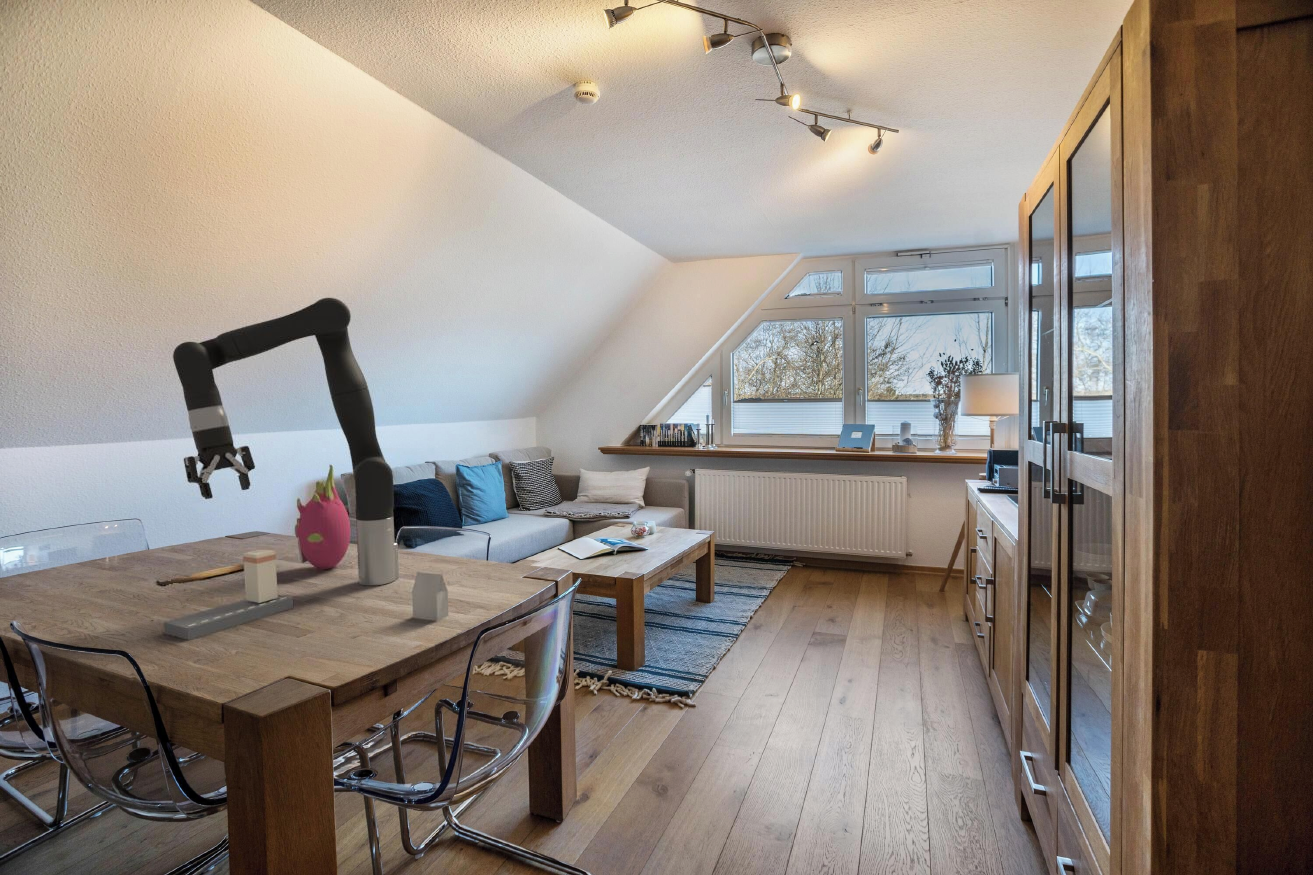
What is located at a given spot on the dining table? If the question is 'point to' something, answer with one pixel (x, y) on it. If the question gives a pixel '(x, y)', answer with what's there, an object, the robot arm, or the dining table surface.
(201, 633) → the toy road segment
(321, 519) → the pink dragon fruit
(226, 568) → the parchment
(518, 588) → the dining table surface
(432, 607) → the grey milk carton
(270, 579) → the cream block
